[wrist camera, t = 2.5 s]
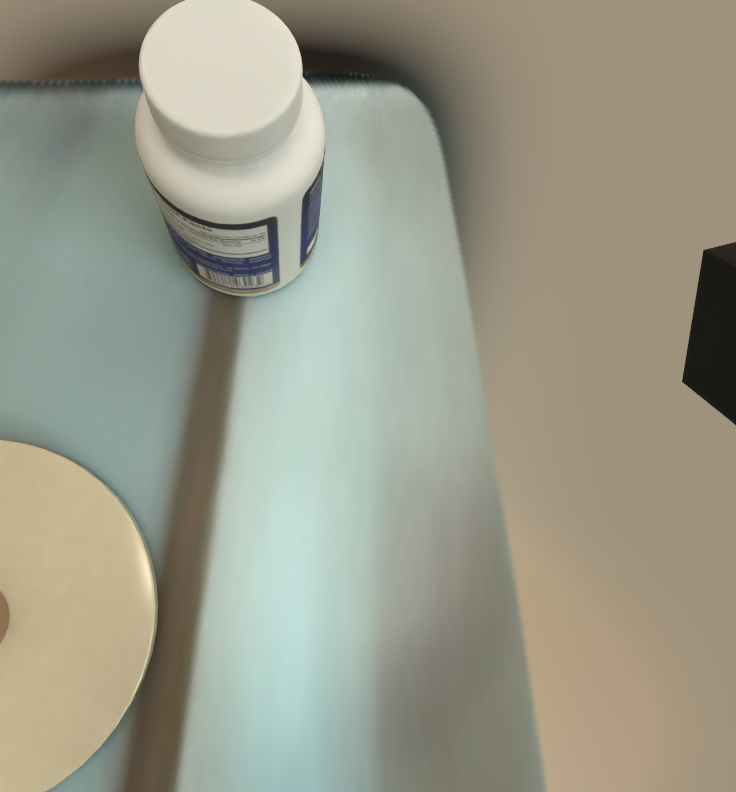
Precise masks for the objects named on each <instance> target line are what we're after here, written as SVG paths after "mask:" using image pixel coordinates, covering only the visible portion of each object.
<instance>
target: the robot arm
mask: <svg viewBox="0 0 736 792" xmlns="http://www.w3.org/2000/svg"><path fill="white" fill-rule="evenodd" d="M682 382H683V383H684V384H686V385H687V386H688V387H689V388H691V389H692V390H693V391H694V392H696V393H697V394H698V395H699V396H701V397H702V398H703V399H704V400H706V401H707V402H708V403H709V404H710V405H712V406H713V407H714V408H715V409H717V410H718V411H719V412H721V413H722V414H723V415H724V416H725V417H727V418H728V419H729V420H730V421H732V422H733V423H734V424H735V425H736V242H735V243H730V244H726V245H722V246H718V247H715V248H711V249H706V250H704V251H703V257H702V263H701V270H700V275H699V282H698V288H697V294H696V300H695V306H694V313H693V319H692V324H691V331H690V337H689V343H688V349H687V356H686V362H685V368H684V373H683V380H682Z"/></svg>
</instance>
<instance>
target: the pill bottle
mask: <svg viewBox="0 0 736 792" xmlns="http://www.w3.org/2000/svg"><path fill="white" fill-rule="evenodd" d="M139 73H140V78H141V83H142V86H143V90H144V91H143V93H142V95H141V97H140V99H139V103H138V106H137V110H136V114H135V140H136V146H137V150H138V153H139V156H140V159H141V162H142V165H143V168H144V170H145V173H146V175H147V177H148V180H149V182H150V185H151V187H152V190H153V193H154V195H155V198H156V200H157V203H158V205H159V207H160V210H161V212H162V215H163V218H164V220H165V223H166V225H167V228H168V230H169V233H170V235H171V238H172V240H173V243H174V246H175V248H176V250H177V252H178V254H179V256H180V258H181V260H182V261H183V263H184V265H185V266H186V267H187V269H188V270H189V271H190V272H191V273H192V274H193V275H194V276H195V277H196V278H197V279H198V280H200V281H201V282H202V283H204V284H205V285H207V286H209V287H210V288H212V289H215V290H217V291H219V292H222V293H225V294H230V295H235V296H259V295H263V294H267V293H270V292H273V291H275V290H278V289H280V288H282V287H284V286H285V285H287V284H288V283H290V282H291V281H292V280H294V279H295V278H296V277H297V276H298V275H299V274H300V273H301V271H302V270H303V269H304V268H305V266H306V265H307V263H308V262H309V260H310V258H311V256H312V254H313V251H314V248H315V245H316V241H317V236H318V229H319V216H320V203H321V190H322V178H323V165H324V155H325V128H324V120H323V116H322V112H321V108H320V105H319V103H318V101H317V99H316V96H315V94H314V92H313V91H312V89H311V87H310V86H309V84H308V83H307V82H306V80H305V79H304V78H303V77H302V61H301V55H300V52H299V48H298V46H297V43H296V41H295V39H294V37H293V36H292V34H291V32H290V31H289V29H288V28H287V27H286V25H285V24H284V23H283V22H282V21H281V20H280V19H279V18H278V17H277V16H276V15H275V14H273V13H272V12H270V11H269V10H268V9H266V8H265V7H263V6H261V5H259V4H258V3H255V2H253V1H251V0H185V1H183V2H181V3H179V4H177V5H175V6H173V7H172V8H170V9H168V10H167V11H165V12H164V13H163V14H162V15H161V16H160V17H159V18H158V19H157V20H156V21H155V22H154V24H153V25H152V26H151V28H150V29H149V31H148V33H147V35H146V36H145V38H144V41H143V43H142V47H141V51H140V56H139Z"/></svg>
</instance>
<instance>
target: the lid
mask: <svg viewBox="0 0 736 792" xmlns="http://www.w3.org/2000/svg"><path fill="white" fill-rule="evenodd" d="M157 616H158V596H157V583H156V577H155V572H154V568H153V563H152V558H151V556H150V553H149V550H148V547H147V544H146V542H145V539H144V537H143V535H142V533H141V531H140V529H139V527H138V525H137V523H136V521H135V519H134V518H133V516H132V515H131V513H130V512H129V511H128V509H127V508H126V506H125V505H124V504H123V502H122V501H121V499H120V498H119V497H118V496H117V495H116V494H115V493H114V492H113V491H112V490H111V489H110V488H109V487H108V486H107V485H106V484H105V483H104V482H103V481H101V480H100V479H99V478H98V477H96V476H95V475H94V474H93V473H91V472H90V471H89V470H87V469H85V468H84V467H82V466H80V465H79V464H77V463H75V462H74V461H72V460H70V459H68V458H66V457H63V456H61V455H59V454H56V453H54V452H51V451H49V450H46V449H44V448H40V447H36V446H33V445H29V444H25V443H21V442H14V441H7V440H0V792H46V791H47V790H49V789H50V788H52V787H54V786H55V785H57V784H59V783H60V782H61V781H63V780H64V779H65V778H67V777H68V776H69V775H70V774H72V773H73V772H74V771H75V770H77V769H78V768H79V767H80V766H82V765H83V764H84V763H85V762H86V761H87V760H88V759H89V758H90V757H91V756H92V755H93V754H94V753H95V752H96V751H97V750H98V749H99V748H100V747H101V746H102V744H103V743H104V742H105V741H106V740H107V738H108V737H109V736H110V735H111V733H112V732H113V731H114V730H115V728H116V727H117V726H118V724H119V723H120V722H121V720H122V719H123V717H124V715H125V714H126V712H127V710H128V709H129V707H130V706H131V704H132V702H133V701H134V699H135V697H136V694H137V692H138V690H139V688H140V686H141V683H142V681H143V679H144V677H145V674H146V671H147V668H148V665H149V661H150V658H151V655H152V652H153V646H154V641H155V635H156V630H157Z"/></svg>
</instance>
